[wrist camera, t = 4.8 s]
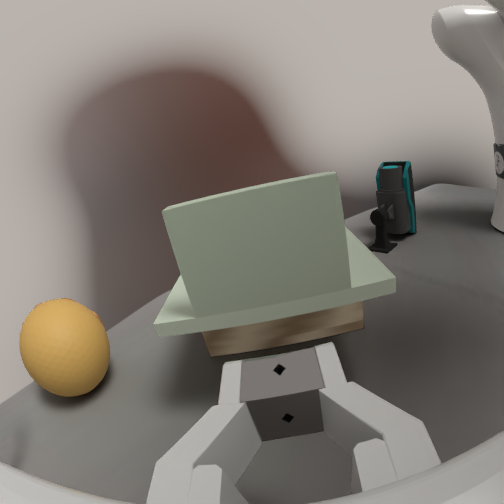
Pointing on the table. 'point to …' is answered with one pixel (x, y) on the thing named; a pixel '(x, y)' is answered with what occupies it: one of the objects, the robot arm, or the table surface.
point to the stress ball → (64, 347)
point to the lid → (266, 257)
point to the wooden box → (285, 330)
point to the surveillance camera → (393, 204)
